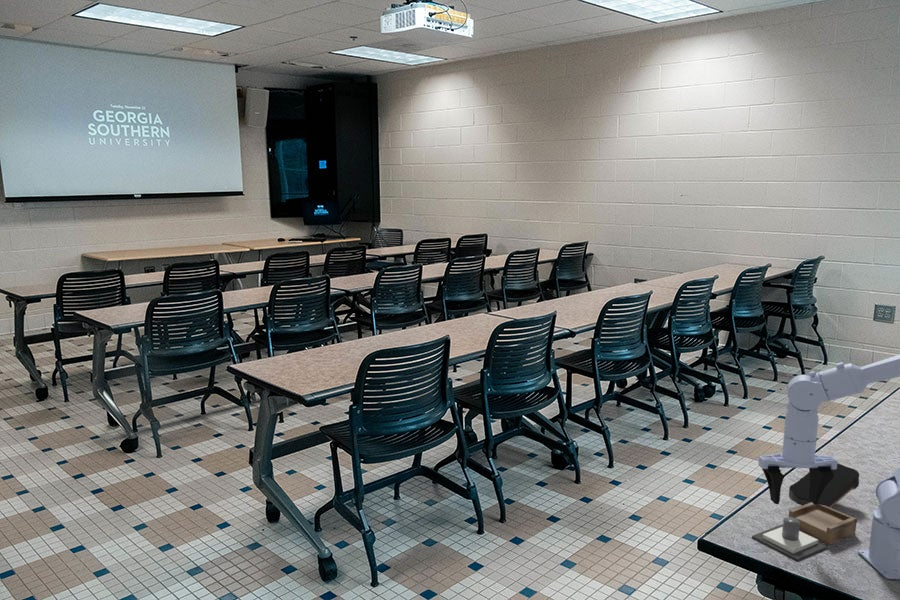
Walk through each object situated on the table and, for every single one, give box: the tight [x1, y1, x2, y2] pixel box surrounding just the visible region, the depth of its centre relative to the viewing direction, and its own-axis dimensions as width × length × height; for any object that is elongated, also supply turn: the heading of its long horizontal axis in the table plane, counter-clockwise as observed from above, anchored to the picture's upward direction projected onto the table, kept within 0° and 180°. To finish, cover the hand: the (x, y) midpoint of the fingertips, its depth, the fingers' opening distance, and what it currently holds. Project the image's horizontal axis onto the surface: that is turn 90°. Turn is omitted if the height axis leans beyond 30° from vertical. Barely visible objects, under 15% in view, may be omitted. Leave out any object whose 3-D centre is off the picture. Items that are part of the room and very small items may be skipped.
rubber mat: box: [751, 523, 830, 562], centre depth 138 cm, size 10×10×1 cm
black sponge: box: [788, 462, 860, 508], centre depth 153 cm, size 16×8×4 cm, turn 123°
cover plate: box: [762, 516, 819, 554], centre depth 137 cm, size 8×7×4 cm
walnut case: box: [788, 502, 858, 546], centre depth 143 cm, size 9×9×4 cm
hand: (793, 501), depth 136 cm, fingers open, 7 cm apart
